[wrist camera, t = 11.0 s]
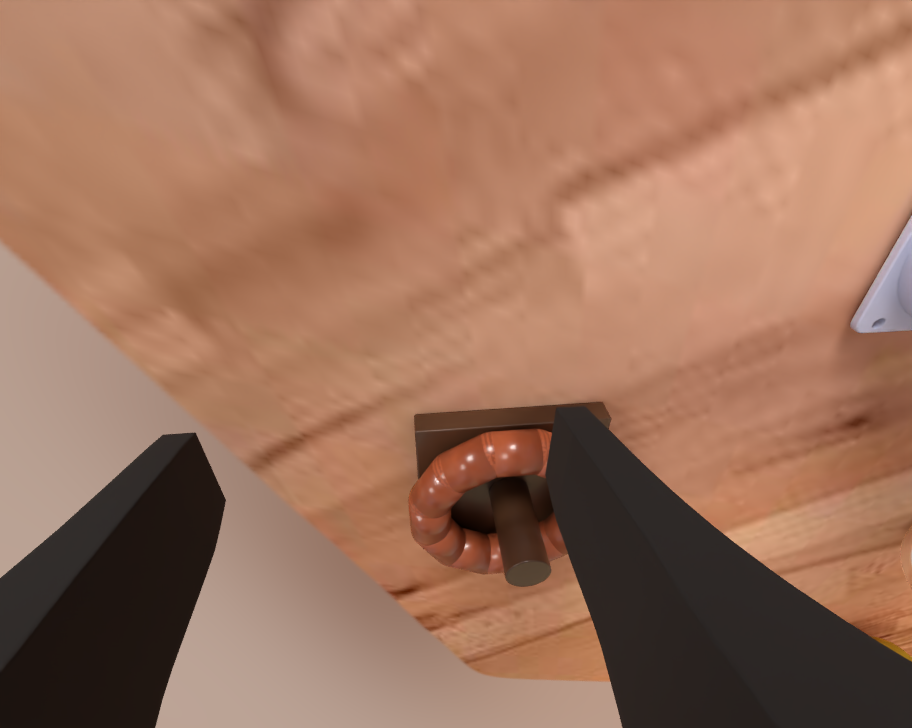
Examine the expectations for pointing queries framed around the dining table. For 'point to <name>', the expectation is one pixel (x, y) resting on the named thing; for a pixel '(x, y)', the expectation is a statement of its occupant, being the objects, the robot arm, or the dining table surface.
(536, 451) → the hoop
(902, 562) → the ring
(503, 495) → the stand
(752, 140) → the dining table surface
